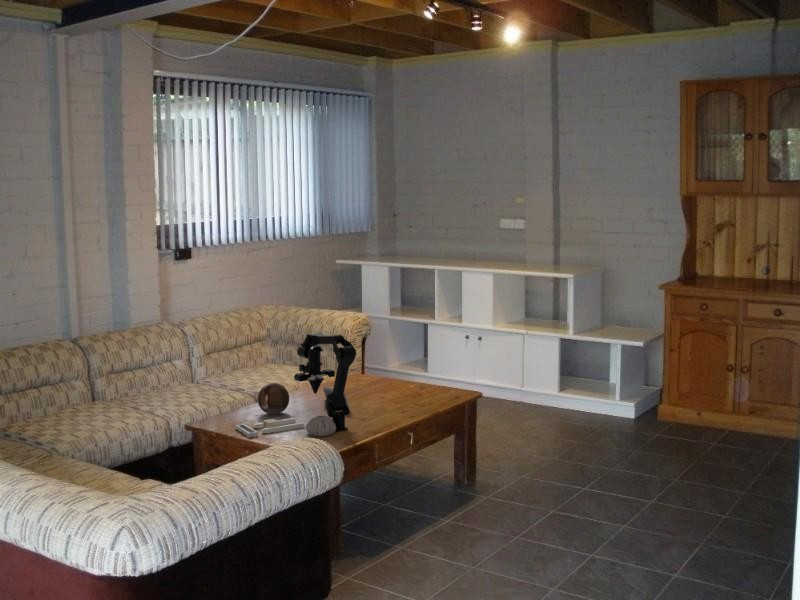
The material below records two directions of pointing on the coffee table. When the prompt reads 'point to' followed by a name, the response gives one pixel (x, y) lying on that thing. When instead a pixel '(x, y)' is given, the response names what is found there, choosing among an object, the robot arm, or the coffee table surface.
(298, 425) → the channel
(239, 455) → the coffee table surface
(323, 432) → the sea urchin shell
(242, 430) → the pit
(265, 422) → the birch block
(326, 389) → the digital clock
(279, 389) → the wooden sphere
